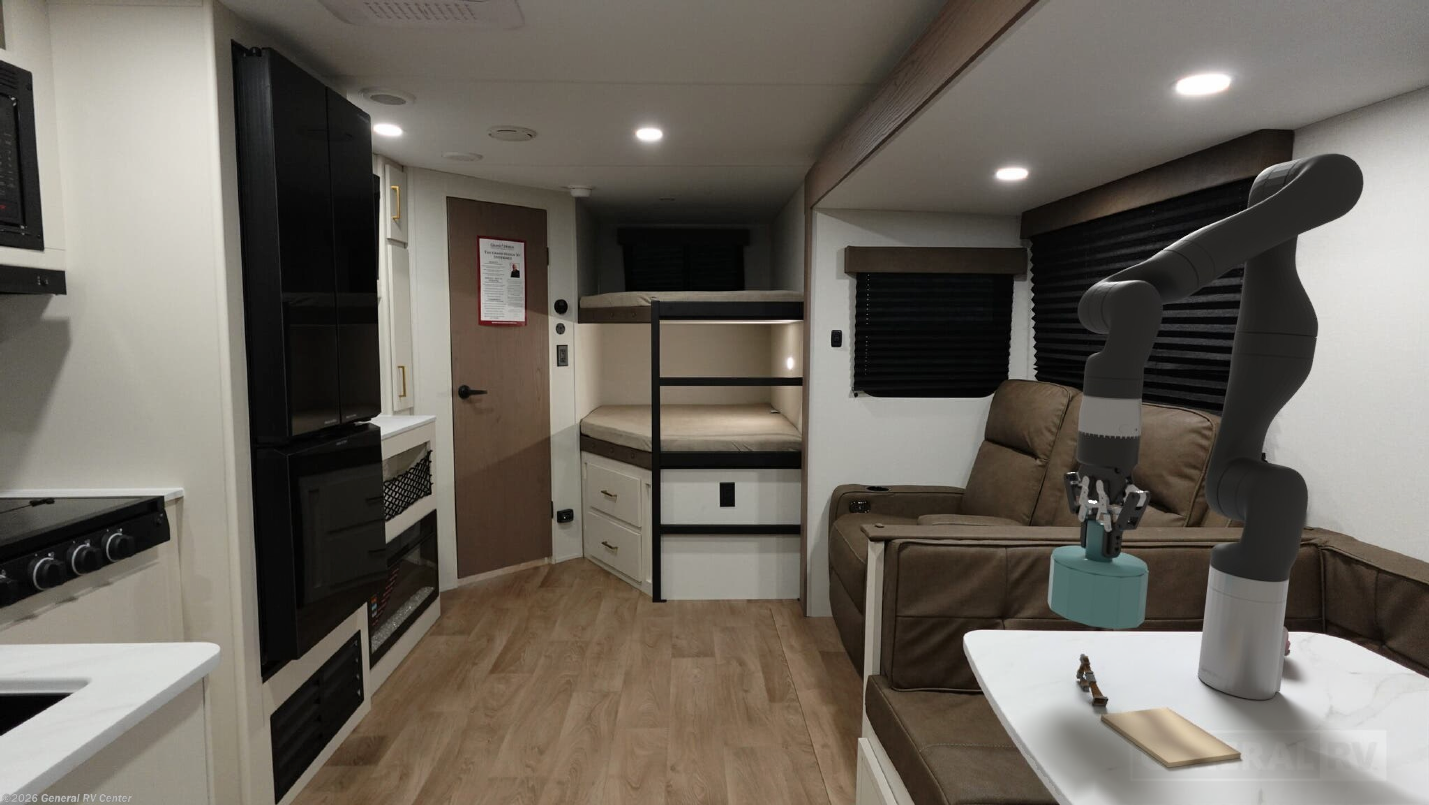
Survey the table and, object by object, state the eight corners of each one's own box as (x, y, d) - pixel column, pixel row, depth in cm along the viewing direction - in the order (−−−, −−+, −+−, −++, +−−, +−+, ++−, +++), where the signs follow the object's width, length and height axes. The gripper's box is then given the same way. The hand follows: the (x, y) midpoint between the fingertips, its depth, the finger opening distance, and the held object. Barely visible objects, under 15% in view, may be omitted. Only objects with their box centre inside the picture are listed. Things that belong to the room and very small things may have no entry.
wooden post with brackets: (1082, 672, 107) (1090, 650, 104) (1100, 719, 100) (1109, 698, 97) (1069, 671, 107) (1076, 649, 105) (1087, 718, 100) (1095, 696, 98)
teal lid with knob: (1098, 593, 108) (1105, 510, 106) (1163, 625, 97) (1171, 533, 95) (1030, 598, 105) (1036, 514, 104) (1089, 632, 94) (1097, 537, 93)
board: (1167, 711, 98) (1167, 707, 98) (1240, 757, 87) (1240, 753, 87) (1100, 719, 95) (1101, 714, 95) (1168, 767, 85) (1168, 762, 85)
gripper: (1175, 437, 92) (1163, 568, 94) (1094, 422, 106) (1085, 536, 108) (1126, 438, 90) (1115, 571, 92) (1049, 423, 104) (1041, 539, 106)
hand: (1099, 552), depth 100 cm, fingers closed on teal lid with knob, 3 cm apart
